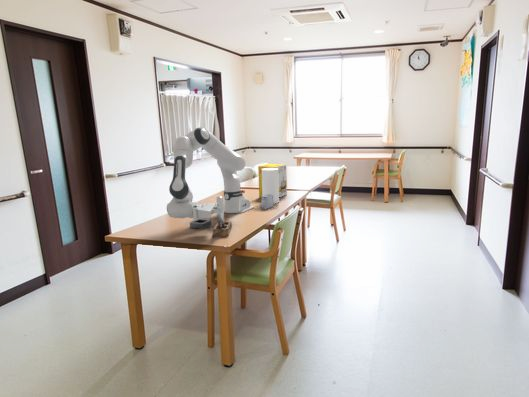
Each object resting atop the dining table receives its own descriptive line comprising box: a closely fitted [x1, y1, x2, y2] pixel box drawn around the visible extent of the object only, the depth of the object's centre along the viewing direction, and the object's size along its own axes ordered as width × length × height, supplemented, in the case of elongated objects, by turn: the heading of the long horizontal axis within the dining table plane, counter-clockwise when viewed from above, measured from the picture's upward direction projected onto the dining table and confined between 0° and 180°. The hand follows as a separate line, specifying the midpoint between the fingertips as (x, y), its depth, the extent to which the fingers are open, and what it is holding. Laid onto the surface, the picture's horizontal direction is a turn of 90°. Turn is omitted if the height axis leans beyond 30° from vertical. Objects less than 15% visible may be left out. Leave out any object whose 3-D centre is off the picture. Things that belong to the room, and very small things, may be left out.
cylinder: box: [262, 168, 280, 204], centre depth 280 cm, size 12×12×25 cm
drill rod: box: [216, 196, 225, 227], centre depth 205 cm, size 4×4×16 cm
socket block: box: [189, 218, 213, 230], centre depth 225 cm, size 9×9×3 cm
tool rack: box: [212, 221, 233, 237], centre depth 211 cm, size 8×15×4 cm, turn 178°
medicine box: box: [260, 195, 274, 210], centre depth 265 cm, size 8×4×9 cm, turn 141°
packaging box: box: [257, 163, 288, 198], centre depth 301 cm, size 16×16×25 cm
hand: (222, 209), depth 205 cm, fingers closed on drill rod, 4 cm apart
